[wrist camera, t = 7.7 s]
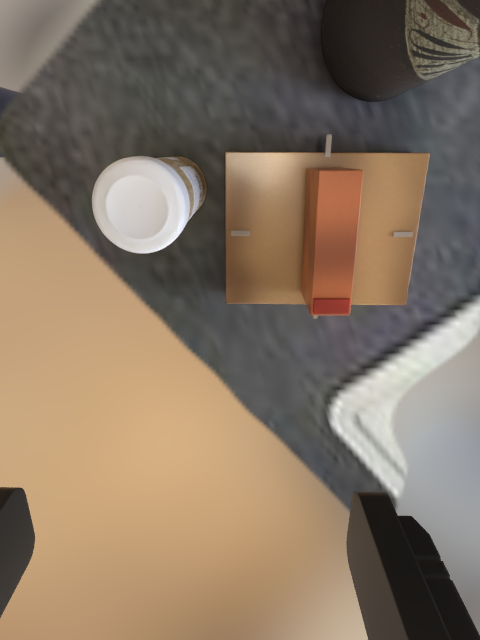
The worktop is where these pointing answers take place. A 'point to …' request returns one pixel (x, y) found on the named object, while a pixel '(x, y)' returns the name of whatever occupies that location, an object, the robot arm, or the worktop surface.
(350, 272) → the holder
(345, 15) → the container
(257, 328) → the worktop surface
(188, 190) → the sprinkles bottle
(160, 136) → the worktop surface
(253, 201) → the holder base
